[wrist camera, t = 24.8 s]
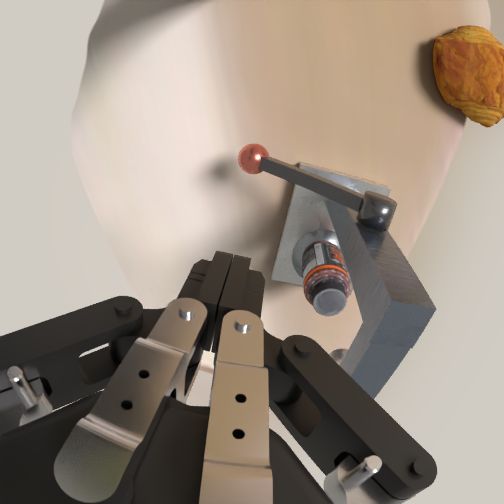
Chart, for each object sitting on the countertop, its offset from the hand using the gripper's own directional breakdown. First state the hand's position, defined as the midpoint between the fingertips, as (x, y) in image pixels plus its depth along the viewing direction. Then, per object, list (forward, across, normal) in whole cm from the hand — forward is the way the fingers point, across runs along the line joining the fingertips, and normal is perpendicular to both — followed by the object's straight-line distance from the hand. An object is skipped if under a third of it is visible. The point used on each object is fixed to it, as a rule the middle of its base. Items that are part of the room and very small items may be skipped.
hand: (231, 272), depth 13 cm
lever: (+21, +6, 0) cm, 22 cm away
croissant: (+31, +26, +21) cm, 46 cm away
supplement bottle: (+29, +11, -13) cm, 33 cm away
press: (+31, +11, -9) cm, 34 cm away
